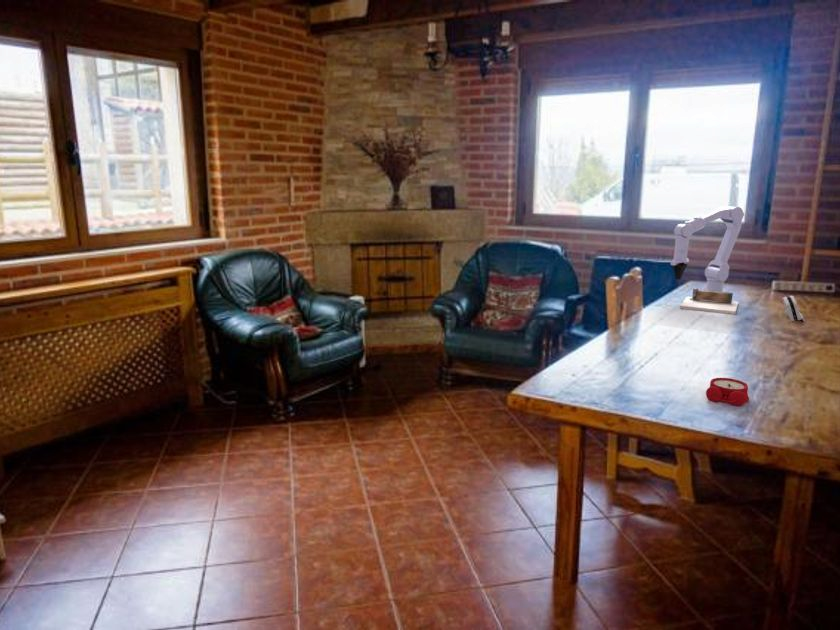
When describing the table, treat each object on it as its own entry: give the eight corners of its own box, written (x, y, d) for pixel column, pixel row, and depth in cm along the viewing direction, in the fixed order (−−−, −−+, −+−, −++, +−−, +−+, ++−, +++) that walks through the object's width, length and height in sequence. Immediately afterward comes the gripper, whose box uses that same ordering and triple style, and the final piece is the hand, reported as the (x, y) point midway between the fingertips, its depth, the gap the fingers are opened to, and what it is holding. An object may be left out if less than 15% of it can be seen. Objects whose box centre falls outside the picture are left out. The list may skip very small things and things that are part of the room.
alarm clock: (752, 381, 167) (749, 385, 154) (749, 404, 167) (745, 409, 154) (711, 374, 172) (704, 378, 160) (708, 396, 173) (701, 401, 160)
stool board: (686, 298, 289) (687, 288, 288) (738, 304, 279) (739, 293, 277) (680, 308, 270) (681, 296, 269) (735, 314, 259) (736, 302, 258)
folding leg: (691, 299, 281) (692, 289, 280) (692, 297, 284) (693, 288, 283) (731, 303, 273) (732, 293, 272) (731, 301, 276) (732, 291, 274)
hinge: (805, 322, 246) (799, 299, 245) (792, 325, 248) (786, 301, 248) (799, 313, 261) (793, 291, 260) (786, 316, 263) (780, 294, 262)
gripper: (682, 252, 272) (679, 282, 275) (696, 249, 282) (693, 278, 285) (667, 250, 277) (664, 280, 280) (681, 248, 287) (678, 276, 290)
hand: (678, 279), depth 283 cm, fingers closed
